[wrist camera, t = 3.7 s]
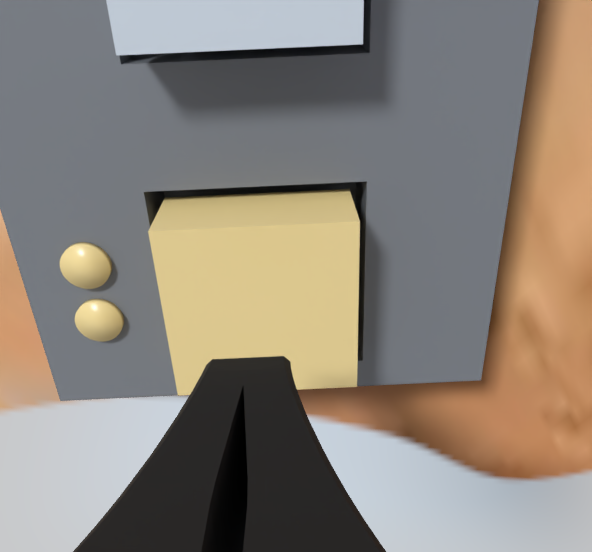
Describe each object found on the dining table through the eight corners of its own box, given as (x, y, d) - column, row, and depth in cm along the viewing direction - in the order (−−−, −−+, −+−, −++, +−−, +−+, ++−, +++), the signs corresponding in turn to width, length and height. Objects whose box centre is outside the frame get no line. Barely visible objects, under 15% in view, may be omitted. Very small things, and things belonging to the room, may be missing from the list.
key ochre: (349, 189, 14) (359, 221, 12) (348, 340, 16) (356, 386, 14) (164, 197, 14) (148, 231, 12) (189, 348, 16) (177, 395, 14)
